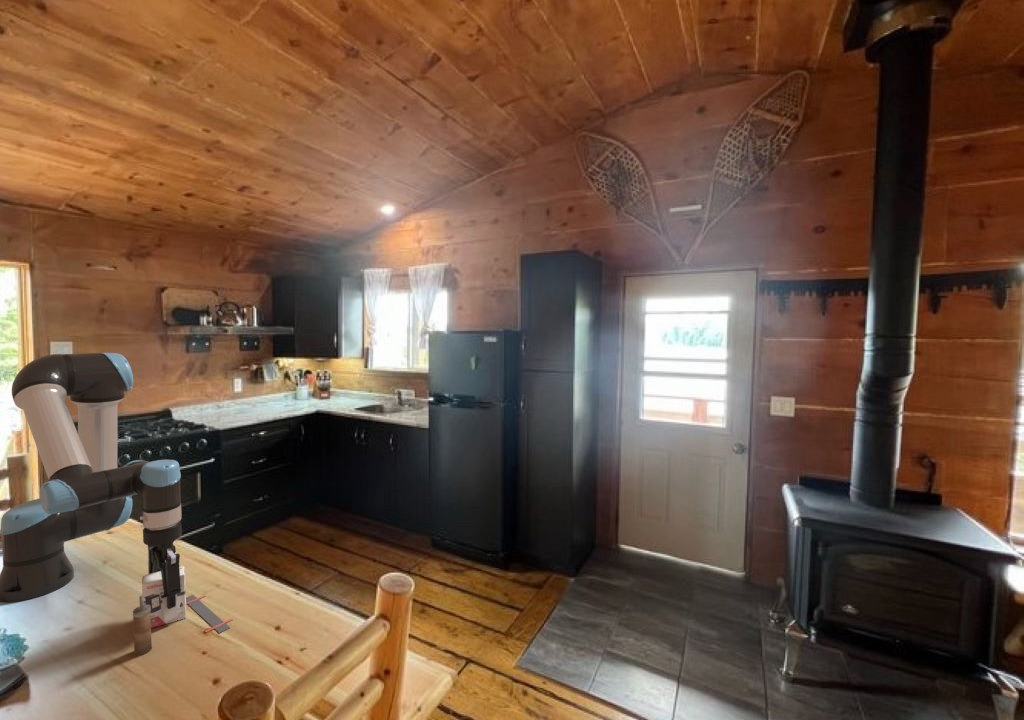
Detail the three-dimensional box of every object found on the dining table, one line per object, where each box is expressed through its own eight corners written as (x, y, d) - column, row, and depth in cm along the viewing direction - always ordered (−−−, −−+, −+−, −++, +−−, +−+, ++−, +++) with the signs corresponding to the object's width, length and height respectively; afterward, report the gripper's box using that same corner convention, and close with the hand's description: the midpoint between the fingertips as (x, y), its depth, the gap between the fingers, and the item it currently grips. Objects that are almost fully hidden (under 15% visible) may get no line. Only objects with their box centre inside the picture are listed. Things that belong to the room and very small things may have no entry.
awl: (132, 651, 102) (130, 596, 101) (149, 644, 105) (147, 590, 104) (136, 658, 100) (135, 601, 99) (153, 650, 103) (152, 595, 102)
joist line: (174, 602, 120) (174, 602, 120) (200, 592, 125) (200, 591, 125) (210, 637, 108) (210, 636, 108) (237, 624, 112) (237, 623, 112)
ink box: (142, 631, 109) (141, 584, 108) (143, 620, 113) (142, 574, 112) (186, 618, 114) (185, 573, 113) (186, 608, 118) (184, 564, 117)
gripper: (130, 518, 114) (133, 606, 116) (158, 541, 103) (161, 637, 105) (166, 509, 120) (168, 592, 122) (196, 529, 109) (198, 621, 111)
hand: (165, 613), depth 113 cm, fingers closed on ink box, 6 cm apart
